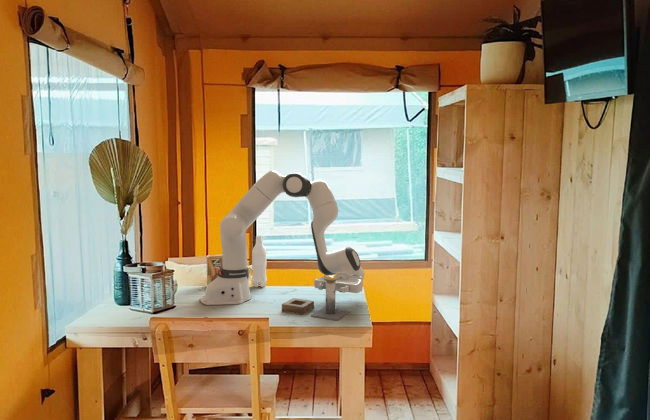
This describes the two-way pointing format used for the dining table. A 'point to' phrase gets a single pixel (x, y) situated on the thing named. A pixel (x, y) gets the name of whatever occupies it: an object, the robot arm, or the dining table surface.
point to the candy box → (213, 267)
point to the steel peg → (330, 293)
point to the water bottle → (259, 263)
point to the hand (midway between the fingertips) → (330, 289)
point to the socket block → (297, 306)
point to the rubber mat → (336, 316)
